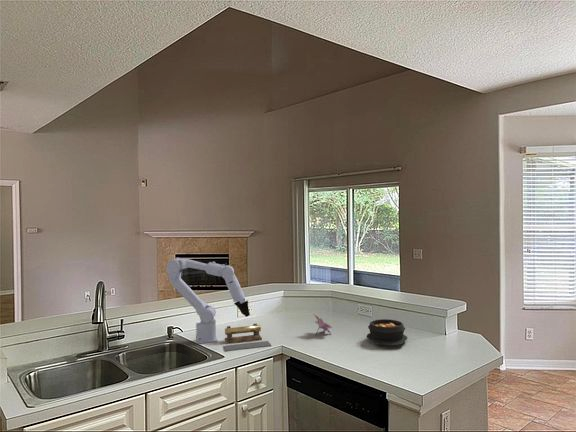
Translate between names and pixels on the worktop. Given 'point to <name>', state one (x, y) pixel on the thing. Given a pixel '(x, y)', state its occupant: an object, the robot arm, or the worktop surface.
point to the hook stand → (243, 337)
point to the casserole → (386, 332)
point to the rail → (242, 329)
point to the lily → (322, 324)
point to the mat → (247, 346)
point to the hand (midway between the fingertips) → (246, 314)
